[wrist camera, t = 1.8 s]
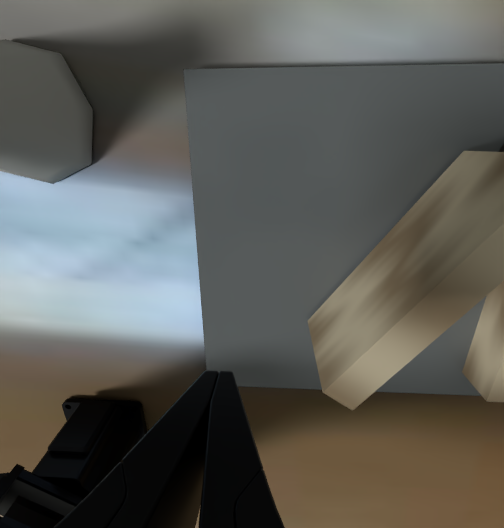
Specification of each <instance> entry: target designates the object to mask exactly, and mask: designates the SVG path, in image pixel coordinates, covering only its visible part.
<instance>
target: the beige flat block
mask: <svg viewBox="0 0 504 528" xmlns="http://www.w3.org/2000/svg"><path fill="white" fill-rule="evenodd" d="M503 281H504V152H488V151H463V152H462V153H461V154H460V155H459V157H458V158H457V159H456V160H455V161H454V162H453V163H452V164H451V165H450V166H449V167H448V168H447V170H446V171H445V172H444V173H443V174H442V175H441V176H440V177H439V178H438V179H437V180H436V182H435V183H434V184H433V185H432V186H431V187H430V188H429V189H428V190H427V191H426V192H425V194H424V195H423V196H422V197H421V198H420V199H419V200H418V201H417V202H416V203H415V204H414V205H413V207H412V208H411V209H410V210H409V211H408V212H407V213H406V214H405V215H404V216H403V217H402V219H401V220H400V221H399V222H398V223H397V224H396V225H395V226H394V227H393V228H392V229H391V231H390V232H389V233H388V234H387V235H386V236H385V237H384V238H383V239H382V240H381V241H380V242H379V244H378V245H377V246H376V247H375V248H374V249H373V250H372V251H371V252H370V253H369V254H368V256H367V257H366V258H365V259H364V260H363V261H362V262H361V263H360V264H359V265H358V266H357V268H356V269H355V270H354V271H353V272H352V273H351V274H350V275H349V276H348V277H347V278H346V279H345V281H344V282H343V283H342V284H341V285H340V286H339V287H338V288H337V289H336V290H335V291H334V293H333V294H332V295H331V296H330V297H329V298H328V299H327V300H326V301H325V302H324V303H323V304H322V306H321V307H320V308H319V309H318V310H317V311H316V312H315V313H314V314H313V315H312V316H311V318H310V319H309V320H308V326H309V330H310V335H311V340H312V345H313V349H314V354H315V359H316V363H317V368H318V373H319V378H320V382H321V387H322V392H323V393H324V394H326V395H328V396H329V397H331V398H333V399H334V400H336V401H338V402H339V403H341V404H342V405H344V406H346V407H347V408H349V409H351V410H352V411H353V410H354V409H355V408H356V407H358V406H359V405H360V404H361V403H362V402H363V401H364V400H366V399H367V398H368V397H369V396H370V395H371V394H373V393H374V392H375V391H376V390H377V389H378V388H380V387H381V386H382V385H383V384H384V383H385V382H387V381H388V380H389V379H390V378H391V377H392V376H394V375H395V374H396V373H397V372H398V371H399V370H401V369H402V368H403V367H404V366H405V365H406V364H408V363H409V362H410V361H411V360H412V359H413V358H415V357H416V356H417V355H418V354H419V353H420V352H422V351H423V350H424V349H425V348H426V347H427V346H428V345H430V344H431V343H432V342H433V341H434V340H435V339H437V338H438V337H439V336H440V335H441V334H442V333H444V332H445V331H446V330H447V329H448V328H449V327H451V326H452V325H453V324H454V323H455V322H456V321H458V320H459V319H460V318H461V317H462V316H463V315H465V314H466V313H467V312H468V311H469V310H470V309H472V308H473V307H474V306H475V305H476V304H477V303H479V302H480V301H481V300H482V299H483V298H484V297H486V296H487V295H488V294H489V293H490V292H491V291H493V290H494V289H495V288H496V287H497V286H498V285H499V284H501V283H502V282H503Z"/></svg>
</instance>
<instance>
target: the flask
mask: <svg viewBox="0 0 504 528" xmlns="http://www.w3.org/2000/svg"><path fill="white" fill-rule="evenodd" d="M92 125H93V110H92V108H91V106H90V104H89V102H88V101H87V99H86V97H85V95H84V94H83V92H82V90H81V88H80V86H79V85H78V83H77V81H76V79H75V78H74V76H73V74H72V72H71V70H70V69H69V67H68V65H67V63H66V61H65V60H64V58H63V56H62V54H61V53H57V52H53V51H49V50H45V49H41V48H37V47H33V46H29V45H26V44H22V43H18V42H14V41H10V40H6V39H5V40H0V171H2V172H6V173H10V174H14V175H18V176H23V177H27V178H31V179H35V180H39V181H43V182H48V183H52V184H54V183H56V182H58V181H60V180H62V179H63V178H65V177H67V176H69V175H71V174H73V173H75V172H77V171H79V170H81V169H83V168H84V167H86V166H88V165H90V164H92Z"/></svg>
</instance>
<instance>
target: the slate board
mask: <svg viewBox="0 0 504 528" xmlns="http://www.w3.org/2000/svg"><path fill="white" fill-rule="evenodd" d="M183 71H184V84H185V97H186V110H187V123H188V136H189V149H190V162H191V175H192V188H193V201H194V214H195V227H196V240H197V253H198V266H199V279H200V292H201V306H202V319H203V332H204V345H205V358H206V370H213V371H218V372H220V371H232V372H233V373H234V377H235V380H236V383H237V386H242V387H268V388H294V389H319V390H322V387H321V382H320V378H319V373H318V368H317V363H316V359H315V354H314V349H313V345H312V340H311V335H310V330H309V326H308V320H309V319H310V318H311V316H312V315H313V314H314V313H315V312H316V311H317V310H318V309H319V308H320V307H321V306H322V304H323V303H324V302H325V301H326V300H327V299H328V298H329V297H330V296H331V295H332V294H333V293H334V291H335V290H336V289H337V288H338V287H339V286H340V285H341V284H342V283H343V282H344V281H345V279H346V278H347V277H348V276H349V275H350V274H351V273H352V272H353V271H354V270H355V269H356V268H357V266H358V265H359V264H360V263H361V262H362V261H363V260H364V259H365V258H366V257H367V256H368V254H369V253H370V252H371V251H372V250H373V249H374V248H375V247H376V246H377V245H378V244H379V242H380V241H381V240H382V239H383V238H384V237H385V236H386V235H387V234H388V233H389V232H390V231H391V229H392V228H393V227H394V226H395V225H396V224H397V223H398V222H399V221H400V220H401V219H402V217H403V216H404V215H405V214H406V213H407V212H408V211H409V210H410V209H411V208H412V207H413V205H414V204H415V203H416V202H417V201H418V200H419V199H420V198H421V197H422V196H423V195H424V194H425V192H426V191H427V190H428V189H429V188H430V187H431V186H432V185H433V184H434V183H435V182H436V180H437V179H438V178H439V177H440V176H441V175H442V174H443V173H444V172H445V171H446V170H447V168H448V167H449V166H450V165H451V164H452V163H453V162H454V161H455V160H456V159H457V158H458V157H459V155H460V154H461V153H462V152H463V151H488V152H499V150H500V149H501V147H502V146H503V144H504V63H490V64H436V65H381V66H327V67H272V68H218V69H183ZM486 297H487V296H486ZM486 297H484V298H483V299H482V300H481V301H480V302H479V303H477V304H476V305H475V306H474V307H473V308H472V309H470V310H469V311H468V312H467V313H466V314H465V315H463V316H462V317H461V318H460V319H459V320H458V321H456V322H455V323H454V324H453V325H452V326H451V327H449V328H448V329H447V330H446V331H445V332H444V333H442V334H441V335H440V336H439V337H438V338H437V339H435V340H434V341H433V342H432V343H431V344H430V345H428V346H427V347H426V348H425V349H424V350H423V351H422V352H420V353H419V354H418V355H417V356H416V357H415V358H413V359H412V360H411V361H410V362H409V363H408V364H406V365H405V366H404V367H403V368H402V369H401V370H399V371H398V372H397V373H396V374H395V375H394V376H392V377H391V378H390V379H389V380H388V381H387V382H385V383H384V384H383V385H382V386H381V387H380V388H378V389H377V390H376V391H375V392H396V393H422V394H448V395H474V396H481V394H480V393H479V392H478V391H477V390H476V388H475V387H474V386H473V385H472V384H471V383H470V381H469V380H468V379H467V378H466V377H465V375H464V374H463V373H462V371H463V368H464V365H465V361H466V358H467V355H468V352H469V349H470V346H471V343H472V340H473V337H474V334H475V331H476V328H477V324H478V321H479V318H480V315H481V312H482V309H483V306H484V303H485V300H486Z"/></svg>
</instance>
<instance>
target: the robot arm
mask: <svg viewBox="0 0 504 528" xmlns="http://www.w3.org/2000/svg"><path fill="white" fill-rule="evenodd" d="M62 407H63V411H64V414H65V417H66V420H67V422H66V423H65V424H64V426H63V427H62V429H61V430H60V431H59V433H58V434H57V435H56V437H55V438H54V439H53V441H52V442H51V444H50V445H49V446H48V451H47V452H46V454H45V455H44V456H43V458H42V459H41V461H40V462H39V463H38V465H37V466H36V467H35V469H34V470H33V472H32V473H31V472H29V471H27V470H25V469H24V468H25V467H23V466H21V465H19V464H17V465H16V466H15V467H14V468H13V469H12V471H11V472H10V473H1V474H0V515H2V516H4V517H0V528H195V525H196V521H197V517H198V513H199V509H200V518H199V528H285V527H284V525H283V522H282V520H281V518H280V515H279V513H278V510H277V508H276V505H275V502H274V499H273V497H272V494H271V491H270V488H269V485H268V482H267V479H266V476H265V472H264V470H263V466H262V463H261V460H260V457H259V454H258V450H257V447H256V444H255V441H254V438H253V434H252V431H251V428H250V425H249V421H248V418H247V415H246V412H245V409H244V405H243V402H242V399H241V396H240V393H239V389H238V386H237V383H236V380H235V377H234V373H233V372H232V371H220V372H218V371H213V370H206V371H204V372H203V373H202V374H201V375H200V376H199V378H198V379H197V380H196V381H195V382H194V383H193V384H192V385H191V386H190V387H189V388H188V389H187V390H186V391H185V393H184V394H183V395H182V396H181V397H180V398H179V399H178V400H177V401H176V402H175V403H174V404H173V405H172V407H171V408H170V409H169V410H168V411H167V412H166V413H165V414H164V415H163V416H162V417H161V418H160V419H159V420H158V422H157V423H156V424H155V425H154V426H153V427H152V428H151V429H150V430H149V431H148V432H147V429H146V424H145V419H144V413H143V408H142V405H141V403H139V402H137V401H120V400H96V399H72V398H69V399H66V400H65V402H64V403H63V404H62ZM200 505H201V507H200Z"/></svg>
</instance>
